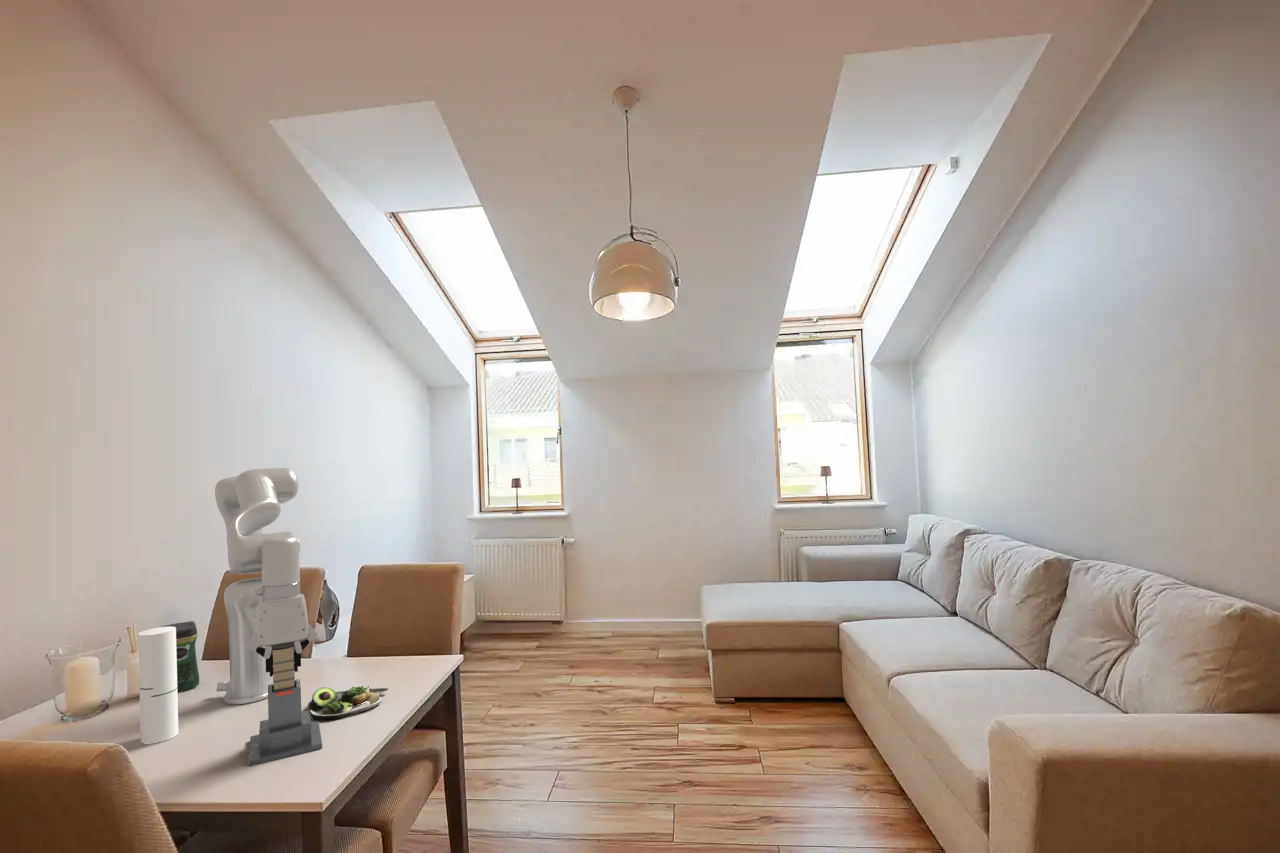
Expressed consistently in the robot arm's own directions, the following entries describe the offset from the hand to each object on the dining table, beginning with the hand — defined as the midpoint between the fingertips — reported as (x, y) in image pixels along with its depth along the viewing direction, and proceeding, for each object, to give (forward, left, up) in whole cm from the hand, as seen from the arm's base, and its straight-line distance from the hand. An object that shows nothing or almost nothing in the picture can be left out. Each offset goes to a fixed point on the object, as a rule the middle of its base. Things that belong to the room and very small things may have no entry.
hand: (283, 671), depth 147 cm
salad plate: (+4, +21, -17) cm, 27 cm away
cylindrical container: (-33, +8, -17) cm, 38 cm away
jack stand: (0, 0, -16) cm, 16 cm away
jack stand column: (0, 0, -15) cm, 15 cm away
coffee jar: (-50, +41, -17) cm, 67 cm away
